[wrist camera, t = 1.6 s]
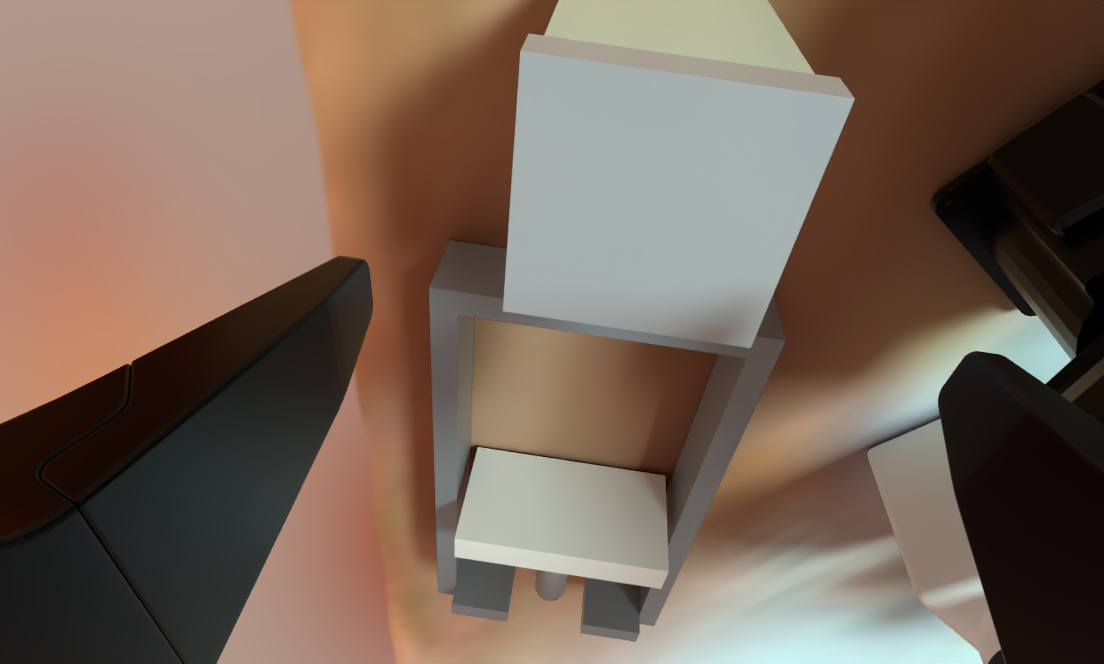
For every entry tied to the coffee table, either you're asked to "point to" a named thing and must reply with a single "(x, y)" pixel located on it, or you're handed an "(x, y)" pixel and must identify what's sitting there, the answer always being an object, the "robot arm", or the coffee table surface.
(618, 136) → the sage jar
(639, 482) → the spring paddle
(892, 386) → the coffee table surface
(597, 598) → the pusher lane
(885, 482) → the medicine bottle
